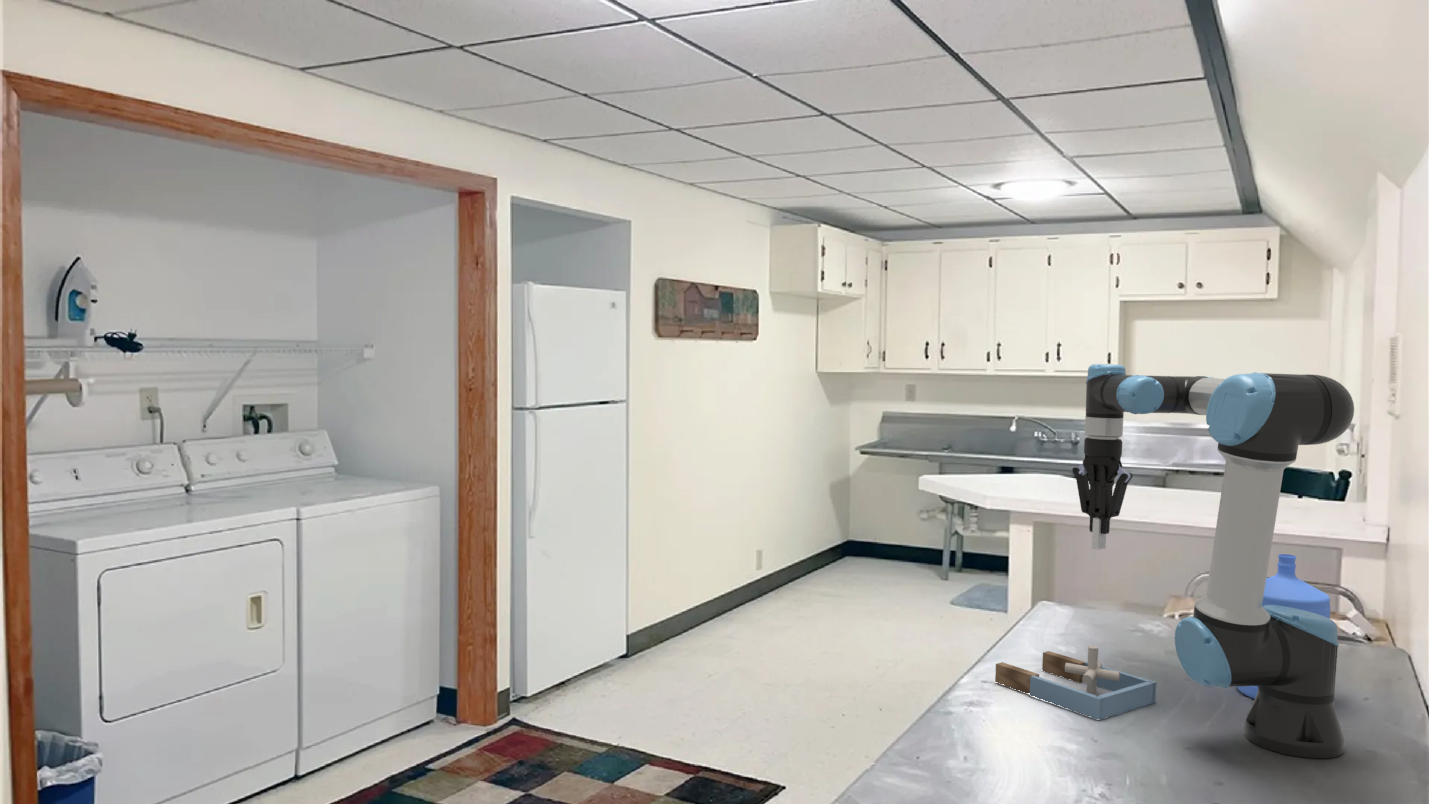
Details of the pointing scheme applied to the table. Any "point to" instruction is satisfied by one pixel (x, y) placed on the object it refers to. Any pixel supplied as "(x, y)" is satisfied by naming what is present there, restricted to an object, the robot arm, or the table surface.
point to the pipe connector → (1092, 671)
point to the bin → (1123, 698)
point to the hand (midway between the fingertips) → (1098, 548)
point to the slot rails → (1021, 677)
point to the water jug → (1290, 597)
